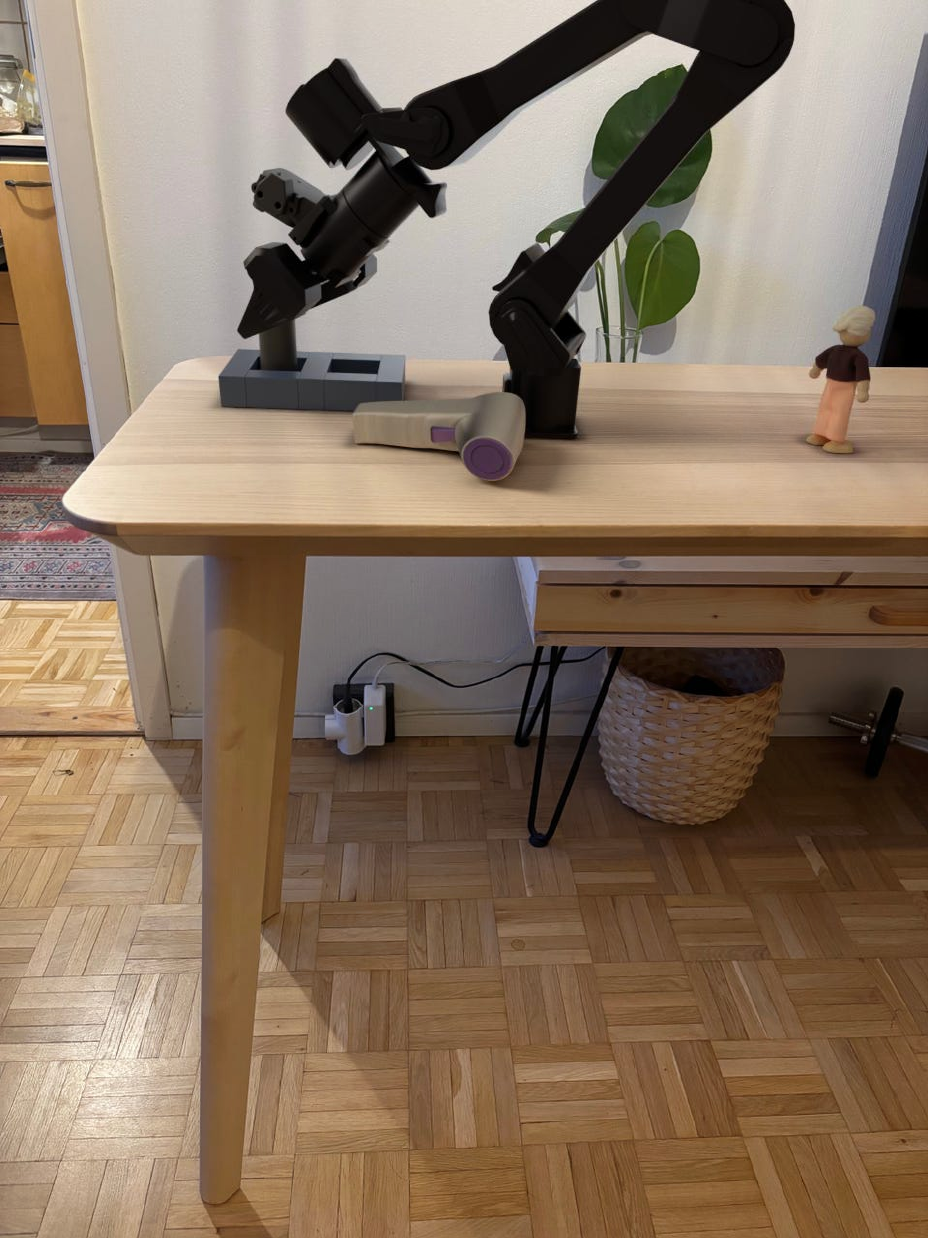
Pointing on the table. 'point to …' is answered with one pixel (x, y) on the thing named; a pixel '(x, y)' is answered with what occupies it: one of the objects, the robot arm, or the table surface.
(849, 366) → the grandmother figurine
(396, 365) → the grey flat block
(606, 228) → the robot arm
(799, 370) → the table surface
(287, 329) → the dark grey banded cylinder
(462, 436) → the infrared thermometer
